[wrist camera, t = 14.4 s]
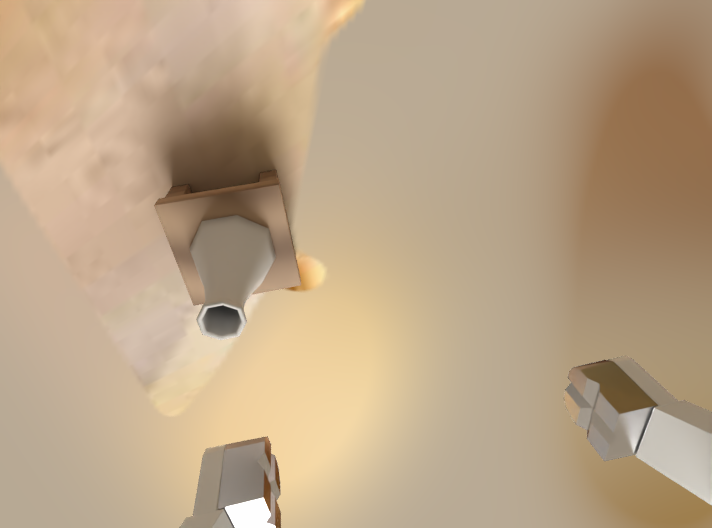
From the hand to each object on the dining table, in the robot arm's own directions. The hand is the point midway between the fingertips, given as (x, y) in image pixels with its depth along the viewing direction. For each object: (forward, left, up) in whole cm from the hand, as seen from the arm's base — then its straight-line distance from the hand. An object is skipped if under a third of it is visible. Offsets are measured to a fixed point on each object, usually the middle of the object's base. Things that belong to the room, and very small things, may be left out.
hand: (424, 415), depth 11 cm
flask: (+7, -9, -26) cm, 29 cm away
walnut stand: (+7, -9, -31) cm, 33 cm away
